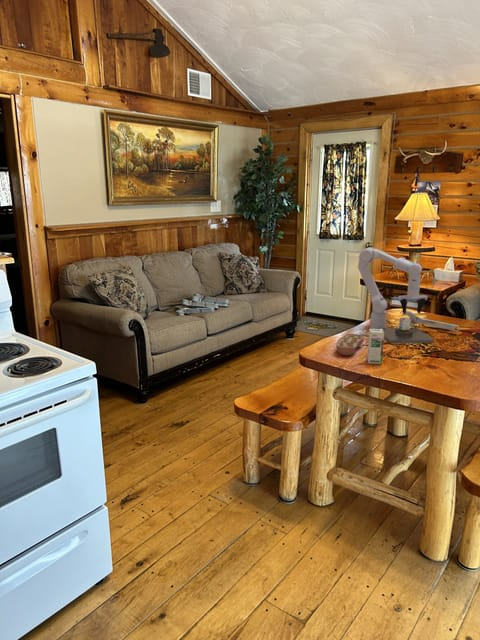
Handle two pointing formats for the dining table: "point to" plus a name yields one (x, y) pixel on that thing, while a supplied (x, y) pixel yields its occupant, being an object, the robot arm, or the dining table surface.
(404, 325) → the grey block
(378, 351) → the syrup box
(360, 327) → the dining table surface
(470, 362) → the dining table surface
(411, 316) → the wrench
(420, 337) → the stand
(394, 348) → the dining table surface
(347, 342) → the brown rounded block
